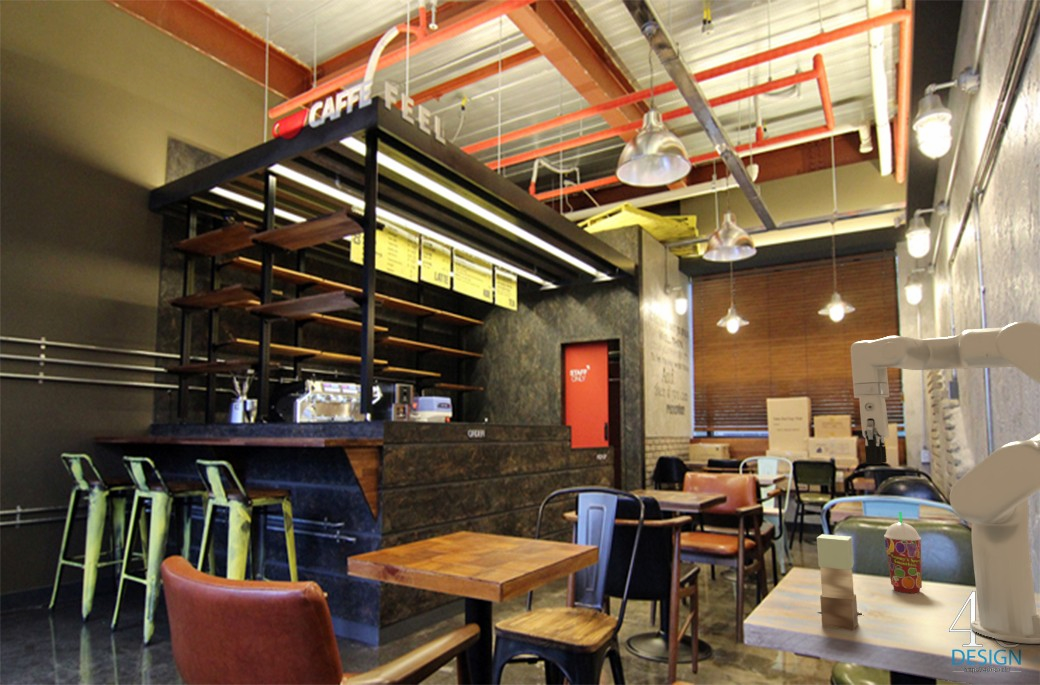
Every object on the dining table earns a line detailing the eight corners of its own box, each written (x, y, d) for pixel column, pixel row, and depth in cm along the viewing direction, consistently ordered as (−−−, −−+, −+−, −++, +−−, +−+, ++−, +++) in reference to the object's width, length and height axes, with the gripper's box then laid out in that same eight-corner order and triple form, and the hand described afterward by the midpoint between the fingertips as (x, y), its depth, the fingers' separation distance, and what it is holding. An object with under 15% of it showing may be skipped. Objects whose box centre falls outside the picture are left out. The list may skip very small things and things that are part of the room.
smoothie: (892, 593, 161) (886, 512, 164) (884, 586, 169) (878, 509, 172) (930, 596, 159) (923, 514, 162) (920, 588, 167) (913, 510, 170)
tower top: (853, 593, 137) (851, 564, 138) (854, 600, 132) (851, 569, 132) (823, 590, 140) (821, 562, 140) (822, 596, 134) (820, 567, 135)
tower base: (858, 623, 135) (856, 594, 136) (853, 630, 131) (851, 600, 131) (827, 619, 139) (825, 590, 140) (822, 625, 134) (820, 595, 135)
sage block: (853, 565, 137) (851, 536, 138) (849, 570, 132) (847, 540, 133) (823, 562, 141) (821, 534, 141) (818, 566, 136) (816, 537, 137)
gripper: (884, 388, 145) (891, 464, 143) (892, 393, 159) (898, 462, 157) (848, 390, 149) (853, 463, 147) (858, 394, 163) (864, 461, 161)
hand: (876, 463), depth 152 cm, fingers open, 9 cm apart
